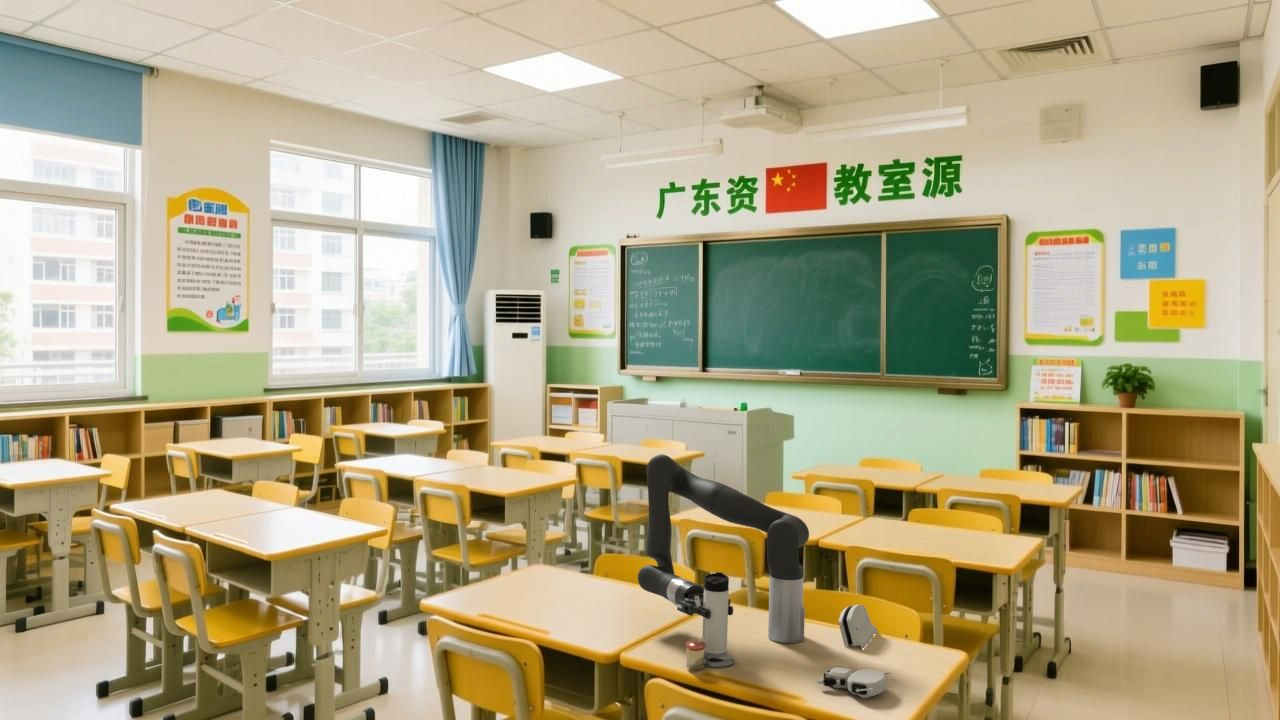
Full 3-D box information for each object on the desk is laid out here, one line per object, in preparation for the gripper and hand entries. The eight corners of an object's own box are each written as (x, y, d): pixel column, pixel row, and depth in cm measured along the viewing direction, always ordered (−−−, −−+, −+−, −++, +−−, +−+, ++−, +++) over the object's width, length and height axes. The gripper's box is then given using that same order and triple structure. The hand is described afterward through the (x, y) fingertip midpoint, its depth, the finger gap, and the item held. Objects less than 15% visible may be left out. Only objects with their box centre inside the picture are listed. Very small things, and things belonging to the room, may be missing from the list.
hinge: (863, 650, 232) (851, 613, 233) (846, 653, 234) (835, 616, 236) (878, 632, 247) (867, 597, 248) (862, 635, 249) (851, 600, 250)
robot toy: (813, 694, 205) (875, 706, 196) (812, 675, 205) (874, 686, 196) (835, 678, 215) (894, 689, 206) (834, 660, 215) (893, 670, 206)
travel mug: (729, 650, 224) (731, 573, 224) (723, 659, 218) (725, 580, 218) (705, 647, 227) (708, 570, 226) (699, 655, 220) (701, 577, 220)
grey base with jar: (710, 651, 229) (711, 626, 229) (742, 660, 223) (742, 635, 223) (673, 666, 218) (673, 641, 218) (705, 677, 211) (705, 651, 211)
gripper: (663, 584, 231) (696, 601, 216) (709, 577, 238) (744, 594, 223) (662, 612, 231) (696, 631, 217) (708, 605, 238) (743, 623, 223)
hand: (720, 613), depth 220 cm, fingers closed on travel mug, 6 cm apart
